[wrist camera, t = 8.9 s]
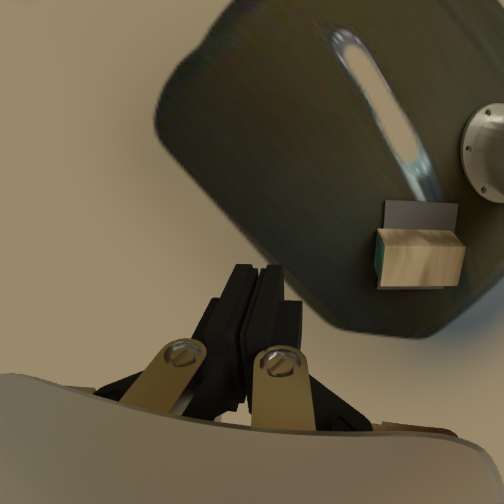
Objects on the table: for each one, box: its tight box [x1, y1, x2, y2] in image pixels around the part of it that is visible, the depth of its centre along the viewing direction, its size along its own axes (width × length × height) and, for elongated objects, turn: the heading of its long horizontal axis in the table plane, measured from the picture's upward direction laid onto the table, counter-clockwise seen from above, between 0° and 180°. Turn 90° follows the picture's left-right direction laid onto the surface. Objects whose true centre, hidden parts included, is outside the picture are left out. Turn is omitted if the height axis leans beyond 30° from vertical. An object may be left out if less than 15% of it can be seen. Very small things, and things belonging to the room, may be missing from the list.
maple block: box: [374, 229, 466, 286], centre depth 35 cm, size 5×5×10 cm
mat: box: [377, 200, 458, 290], centre depth 37 cm, size 10×12×1 cm
